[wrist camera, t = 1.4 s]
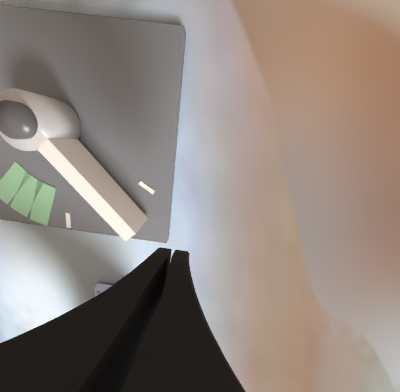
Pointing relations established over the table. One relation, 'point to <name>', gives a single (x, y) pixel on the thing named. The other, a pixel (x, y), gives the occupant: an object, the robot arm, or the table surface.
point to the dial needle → (66, 154)
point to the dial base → (94, 112)
